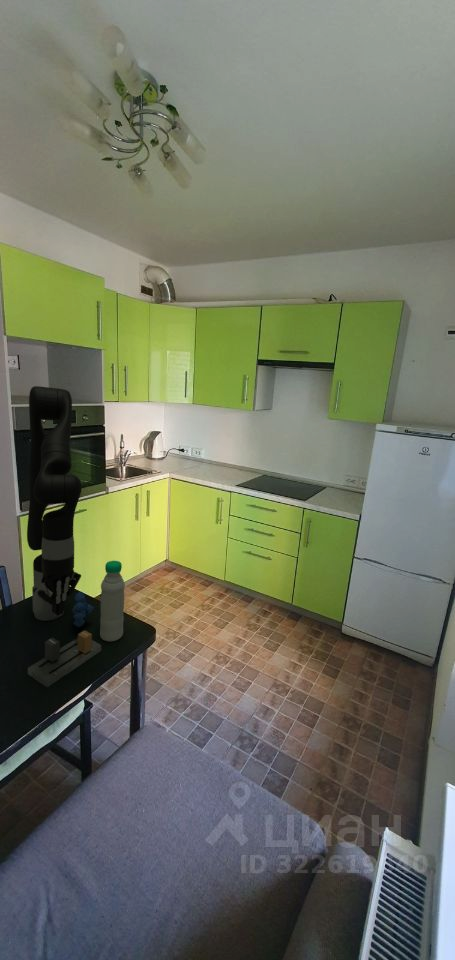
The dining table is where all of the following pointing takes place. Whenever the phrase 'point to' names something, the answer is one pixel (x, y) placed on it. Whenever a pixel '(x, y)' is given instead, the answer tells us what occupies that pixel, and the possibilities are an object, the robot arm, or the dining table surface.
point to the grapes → (80, 609)
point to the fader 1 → (52, 649)
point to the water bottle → (112, 602)
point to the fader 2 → (84, 641)
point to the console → (61, 663)
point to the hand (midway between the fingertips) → (58, 613)
